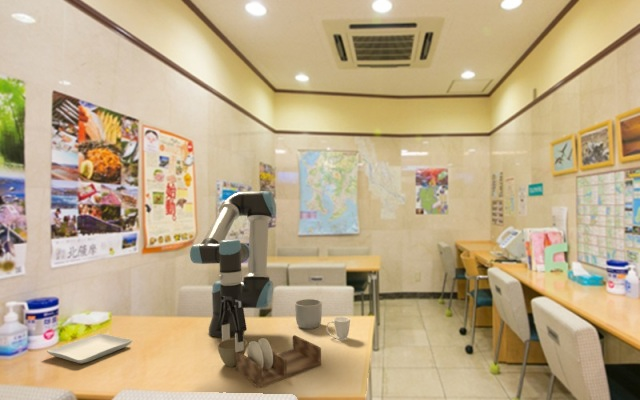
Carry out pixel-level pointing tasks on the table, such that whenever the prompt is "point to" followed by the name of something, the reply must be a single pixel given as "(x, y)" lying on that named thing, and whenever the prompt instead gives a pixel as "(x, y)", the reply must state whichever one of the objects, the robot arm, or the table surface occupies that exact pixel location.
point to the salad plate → (90, 348)
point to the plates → (261, 353)
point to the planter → (308, 313)
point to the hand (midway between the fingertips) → (232, 346)
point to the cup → (341, 327)
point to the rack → (281, 363)
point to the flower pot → (229, 351)
